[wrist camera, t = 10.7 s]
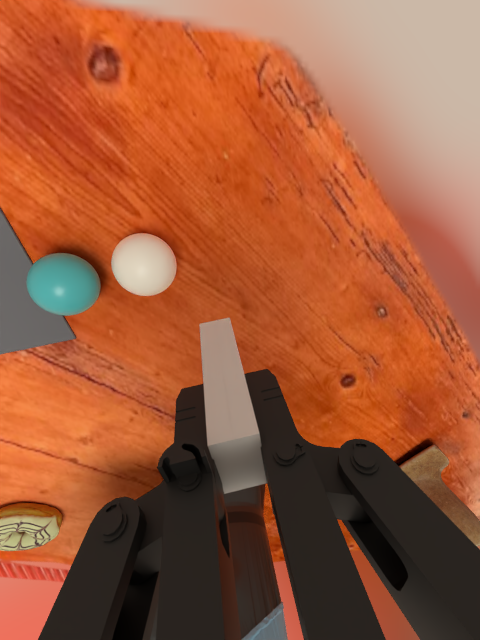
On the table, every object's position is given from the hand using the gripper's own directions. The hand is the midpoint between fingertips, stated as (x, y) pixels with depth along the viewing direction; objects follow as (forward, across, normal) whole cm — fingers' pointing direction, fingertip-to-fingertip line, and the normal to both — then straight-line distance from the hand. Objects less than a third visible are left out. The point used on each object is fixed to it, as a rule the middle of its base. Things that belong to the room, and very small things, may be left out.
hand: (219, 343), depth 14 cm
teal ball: (+13, +13, 0) cm, 18 cm away
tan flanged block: (+17, -34, +54) cm, 66 cm away
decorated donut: (+17, +39, +39) cm, 57 cm away
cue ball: (+13, +5, -1) cm, 14 cm away
